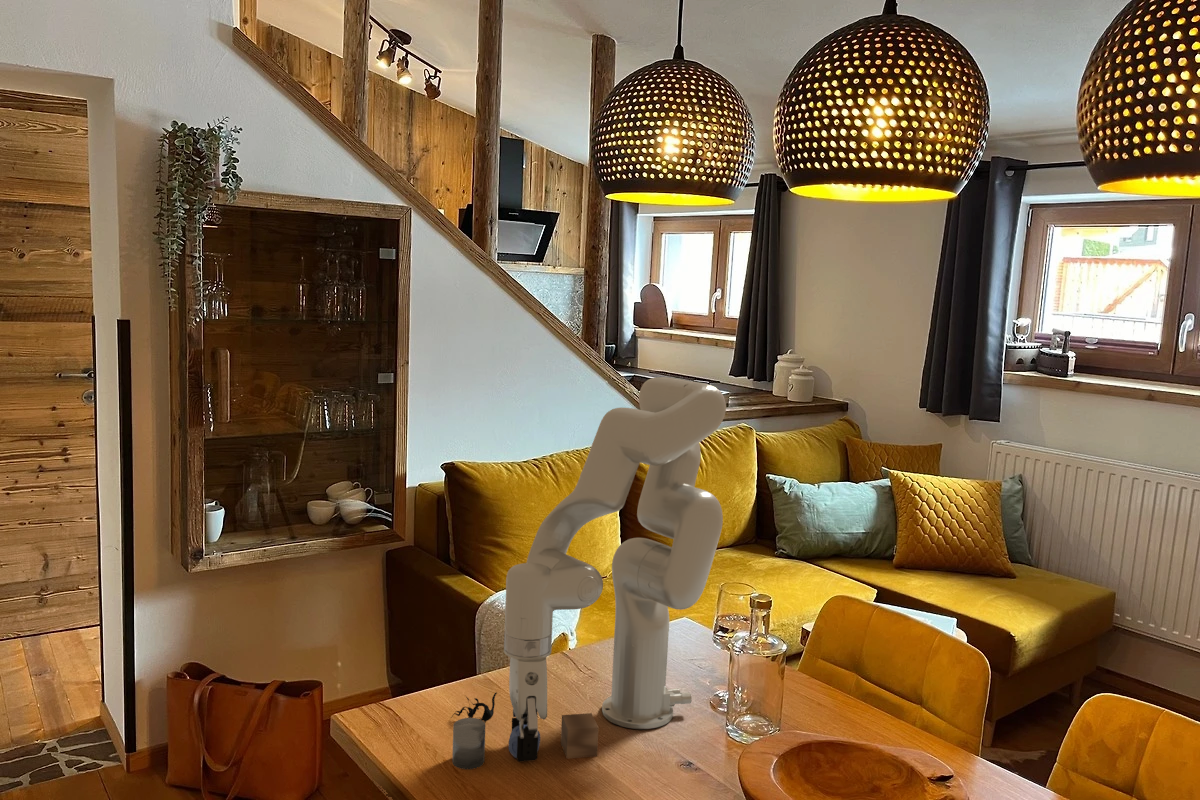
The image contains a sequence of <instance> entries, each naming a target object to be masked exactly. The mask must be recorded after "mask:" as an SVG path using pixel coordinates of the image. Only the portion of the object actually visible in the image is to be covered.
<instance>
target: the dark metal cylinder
mask: <svg viewBox="0 0 1200 800" xmlns="http://www.w3.org/2000/svg"><path fill="white" fill-rule="evenodd" d="M485 746H486V723H485V722H484V720H481V719H480V718H478V717H477V718H476V717H472V718H471V717H470V718H468V717H465V718H460V719H458V720H456V721H455V722H454V723H453V727H452V757H451V758H452V765H453V766H454V767H456V768H458V769H461V770H474V768H475V769H478V768H479V767H481V766H483V765H484V764H485V753H486V752H485V751H486V747H485ZM483 763H484V764H483ZM477 767H478V768H477Z"/></svg>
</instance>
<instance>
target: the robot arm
mask: <svg viewBox="0 0 1200 800" xmlns="http://www.w3.org/2000/svg"><path fill="white" fill-rule="evenodd" d="M638 405H639V409H637V408H633V407H616V408H612V409H611V410H608V411H607V412H606V413H605V414H604V416H603V417H602V419H601V421H600V423H599V426H598V427H597V431H596V433H595V436H594V439H593V441H592V444H591V446H590V449H589V452H588V455H587V458H586V460H585V463H584V465H583V468H582V470H581V473H580V475H579V478H578V481H577V483H576V486H575V487H574V488H573V490H572V492H571V493H569V495H568V496H566V497H564V499H562V500H561V501H560V502H559V503H558V504H557V505H556V506H555V507H554V509H552V510H551V512H550V513H548V514H547V516H546V517H545V518H544V520H543V521H542V522H541V524H540V526H539V527H538V530H537V532H536V533H535V537H534V539H533V542H532V545H531V547H530V550H529V553H528V556H527V560H526V562H523V563H518V564H515V565H513V566H511V567H510V568H509V570H507V573H506V579H505V611H504V632H503V633H504V638H503V640H504V641H503V653H504V654H505V655H506V656H507V657H509V679H508V681H509V683H508V684H509V687H508V688H509V689H508V690H509V692H508V693H509V697H510V702H511V706H512V716H513V717H512V718H511V731H512V730H513V729H514V728H515V727H516V726H519V736H517V758H516V760H517V762H520V763H521V762H529V761H530V762H531V761H532V762H533V761H537V759H538V753H539V750H538V731H539V727H538V724H539V723H538V716H539V719H540V720H546V719H547V717H548V667H547V666H548V665H547V658H548V657H549V656H550V655H551V654H552V642H553V641H552V640H553V620H554V612H555V611H559V610H561V611H563V610H564V611H565V610H567V611H568V610H581V609H585V608H587V607H590V606H591V605H593V604H595V603H596V602H597V600H598V599H599V598H600V597H601V594H602V592H603V589H604V580H603V577H602V575H601V572H599V571H598V570H597V568H595V567H594V566H593V565H591V564H589V563H588V562H585V561H583V560H580V559H578V558H575V557H574V556H571V555H569V554H567V552H568V549H569V547H570V545H571V542H572V541H573V539H574V537H575V535H576V534H577V533H578V531H580V530H581V528H582V527H584V526H585V525H586V524H588V523H589V522H591V521H594V520H595V519H598V518H601V517H603V516H607V515H610V514H613V513H616V512H619V511H620V510H621V509H623V508H624V506H625V504H626V500H627V499H628V498H627V497H628V496H629V492H630V490H631V487H632V484H633V482H634V479H635V475H636V473H637V472H638V471H637V470H638V468H639V466H640V464H644V465H649V466H648V470H647V474H646V476H645V480H644V484H643V487H642V489H641V493H640V497H639V499H638V504H637V511H636V512H637V513H636V517H637V521H638V523H640V525H641V526H642V527H643V528H644V529H646V530H648V531H650V532H653V533H655V534H657V535H661V536H663V537H666V538H669V539H672V544H671V545H672V546H669V545H667V544H664V543H662V542H658V541H656V540H653V539H649V538H646V537H633V538H628V539H627V540H625V541H623V542H622V543H621V544H620V545H619V546H618V547H617V549H616V550H615V552H614V555H613V556H612V557H613V558H612V563H611V574H612V575H611V576H612V583H613V589H614V599H615V612H614V613H615V616H614V617H615V619H614V620H615V622H614V635H613V637H614V640H613V655H612V656H613V657H612V662H613V663H612V678H611V694H610V696H608V697H607V698H606V699H604V700H603V701H602V705H601V706H602V707H601V713H602V715H603V716H604V718H605V719H606V720H607V721H609V722H611V723H612V724H614V725H617V726H619V727H623V728H627V729H633V730H634V729H635V730H649V729H655V728H660V727H662V726H665V725H667V724H669V723H670V721H671V720H672V719H673V715H674V707H675V705H679V704H680V705H690V704H692V701H693V699H692V694H691V692H681V690H680V688H679V687H678V688H669V689H668V688H667V686H666V684H667V670H668V669H667V665H668V651H669V650H668V649H669V634H670V633H669V632H670V613H669V608H671V609H673V610H687V609H689V608H692V607H693V606H694V605H695V604H696V603H697V602H698V601H699V599H701V596H702V594H703V592H704V590H705V587H706V584H707V581H708V578H709V575H710V572H711V569H712V565H713V562H714V558H715V555H716V551H717V547H718V543H719V541H720V537H721V533H722V529H723V522H724V520H723V516H724V515H723V509H722V505H721V504H720V501H719V500H718V499H717V497H716V496H715V495H714V494H713V493H711V492H709V491H707V490H705V489H702V488H699V487H695V486H696V482H697V477H698V472H699V469H700V464H701V458H702V457H701V455H702V454H701V453H702V451H701V446H700V443H701V442H702V441H704V440H705V439H707V438H708V437H710V436H711V435H712V434H713V433H714V432H715V431H716V430H717V429H718V428H720V426H721V424H722V422H723V420H724V418H725V416H726V411H727V403H726V399H725V397H724V395H723V392H721V390H719V389H718V388H717V387H716V386H714V385H711V384H708V383H704V382H698V381H692V380H686V379H680V378H674V377H668V376H667V377H666V376H659V377H658V376H657V377H652V378H649V379H647V380H646V381H645V382H644V383H642V386H641V387H640V390H639V394H638ZM524 725H527V726H525V728H524Z"/></svg>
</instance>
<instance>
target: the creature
mask: <svg viewBox="0 0 1200 800" xmlns="http://www.w3.org/2000/svg"><path fill="white" fill-rule="evenodd" d="M497 694H498V692H497V691H495V692H494V694H493V696H492V698H491V703H492V704H491V709H490V708H489V705H487V704H486V703H483V702H479V699H478V698H476V697H475V698H474V700H475V701H476V703H473V702H472V701H470V699H469V697H467V696H465V697H466V699H467V702H468V703H471V704H472V705H473V706H474V707H473V708H472V707H471V706H462V708H461V709H460V710H456V711H455V712H454V713H453V714H452V715H451V717H450V719H452V718H453V717H454V715H456V716H458V717H459V716H461V714H462V713H463V711H466V714H467V716H468V717H467V718H474V715H476V712H477V711H478V710H480V708H479V707H483V708H484V709H483V710H484V711H483V714H482V716H481V717H479V716H478V717H475V718H477V719H480V720H482V721H484V722H485V724H486V723H487V722H488V721H490V720H491V719H492V718H493V716H494V713H495V712H494V711H495V705H496V704H495V701H496V700H495V698H496V696H497ZM466 708H467V709H466Z"/></svg>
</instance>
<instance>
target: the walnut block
mask: <svg viewBox="0 0 1200 800" xmlns="http://www.w3.org/2000/svg"><path fill="white" fill-rule="evenodd" d="M560 725H561V727H560V730H561V731H560V732H561V733H560V745H561V747H563V748H562V750H563V752H564V755H565V758H566V759H567V760H568V759H579V758H590V757H591V758H593V757H598V746H599V745H598V743H599V742H598V741H599V726H598V723H597V722H596V719H595V718H594V715H593V713H589V712H588V713H573V714H572V713H571V714H561V724H560Z"/></svg>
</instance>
